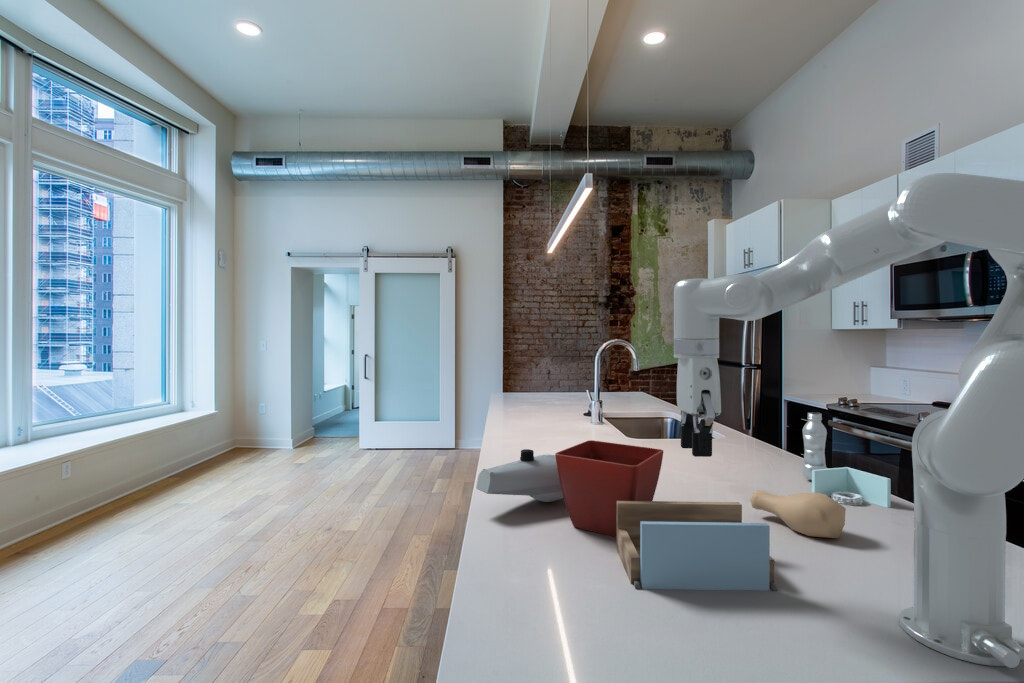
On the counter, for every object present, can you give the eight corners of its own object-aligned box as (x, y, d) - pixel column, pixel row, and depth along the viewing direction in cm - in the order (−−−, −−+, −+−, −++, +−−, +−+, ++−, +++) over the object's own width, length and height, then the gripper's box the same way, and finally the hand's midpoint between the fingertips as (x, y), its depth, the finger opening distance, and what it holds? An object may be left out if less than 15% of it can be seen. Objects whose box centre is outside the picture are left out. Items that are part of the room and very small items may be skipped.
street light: (554, 487, 143) (555, 438, 143) (594, 501, 131) (594, 447, 131) (464, 508, 125) (464, 452, 125) (500, 526, 113) (500, 465, 113)
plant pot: (664, 520, 117) (665, 448, 117) (636, 549, 101) (636, 465, 101) (589, 505, 127) (589, 439, 127) (552, 529, 111) (553, 453, 111)
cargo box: (779, 594, 83) (779, 534, 83) (633, 592, 84) (633, 532, 84) (738, 552, 99) (738, 502, 99) (616, 550, 100) (616, 500, 100)
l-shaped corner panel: (811, 497, 134) (811, 469, 134) (847, 494, 138) (847, 467, 138) (852, 512, 123) (852, 482, 123) (890, 508, 126) (890, 478, 126)
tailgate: (769, 591, 83) (769, 525, 83) (641, 589, 84) (642, 524, 84) (766, 588, 85) (766, 523, 84) (640, 585, 85) (640, 521, 85)
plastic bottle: (805, 482, 148) (805, 414, 148) (799, 476, 155) (799, 411, 154) (830, 484, 146) (830, 415, 146) (823, 477, 153) (823, 412, 153)
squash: (829, 549, 101) (829, 505, 101) (739, 519, 118) (739, 481, 118) (856, 538, 106) (856, 496, 106) (766, 511, 123) (766, 474, 123)
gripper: (737, 350, 80) (737, 464, 80) (701, 348, 97) (700, 442, 97) (690, 350, 80) (689, 464, 80) (661, 348, 97) (661, 441, 97)
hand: (695, 450), depth 89 cm, fingers open, 5 cm apart
